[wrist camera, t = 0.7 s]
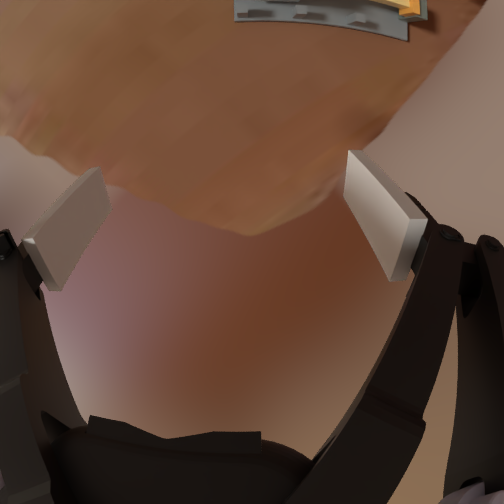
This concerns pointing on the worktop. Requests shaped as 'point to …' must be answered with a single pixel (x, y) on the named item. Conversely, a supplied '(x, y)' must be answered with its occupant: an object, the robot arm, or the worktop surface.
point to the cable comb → (338, 14)
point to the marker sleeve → (280, 0)
